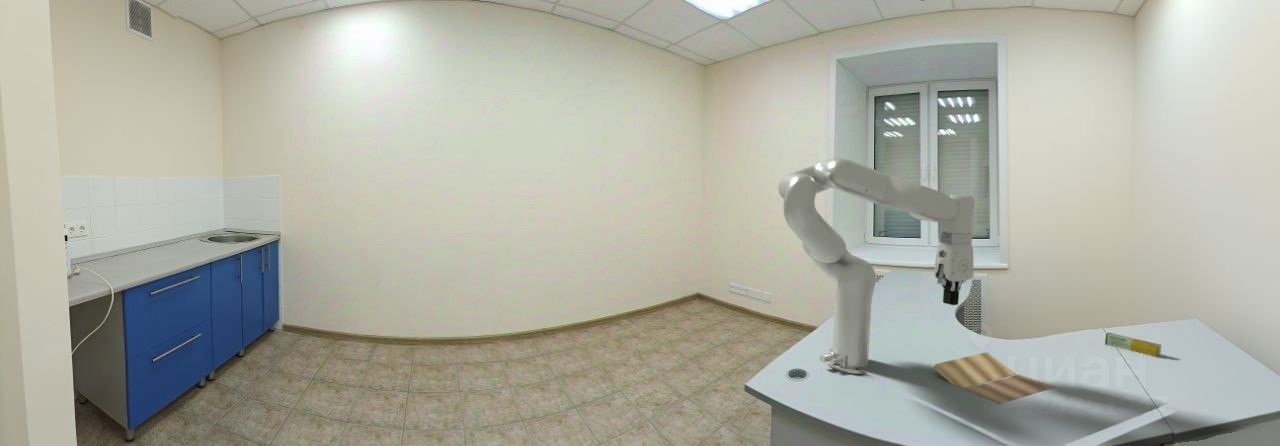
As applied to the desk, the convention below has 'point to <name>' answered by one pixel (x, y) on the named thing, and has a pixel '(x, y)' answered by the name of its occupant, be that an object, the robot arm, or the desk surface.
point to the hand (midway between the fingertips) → (950, 303)
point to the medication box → (1133, 344)
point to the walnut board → (1009, 388)
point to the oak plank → (973, 370)
